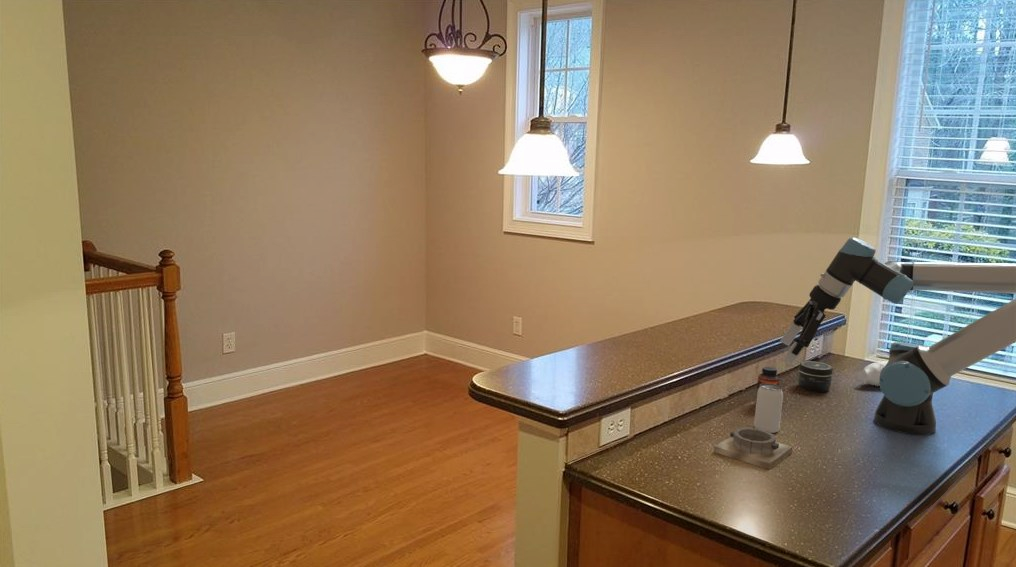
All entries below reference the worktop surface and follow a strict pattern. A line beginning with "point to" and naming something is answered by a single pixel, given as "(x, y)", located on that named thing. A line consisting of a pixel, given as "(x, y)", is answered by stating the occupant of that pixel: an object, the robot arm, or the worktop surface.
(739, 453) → the grey ring holder base
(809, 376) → the jar
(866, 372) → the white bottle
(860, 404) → the worktop surface
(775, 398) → the can
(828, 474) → the worktop surface
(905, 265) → the robot arm
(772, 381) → the supplement bottle
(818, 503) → the worktop surface
